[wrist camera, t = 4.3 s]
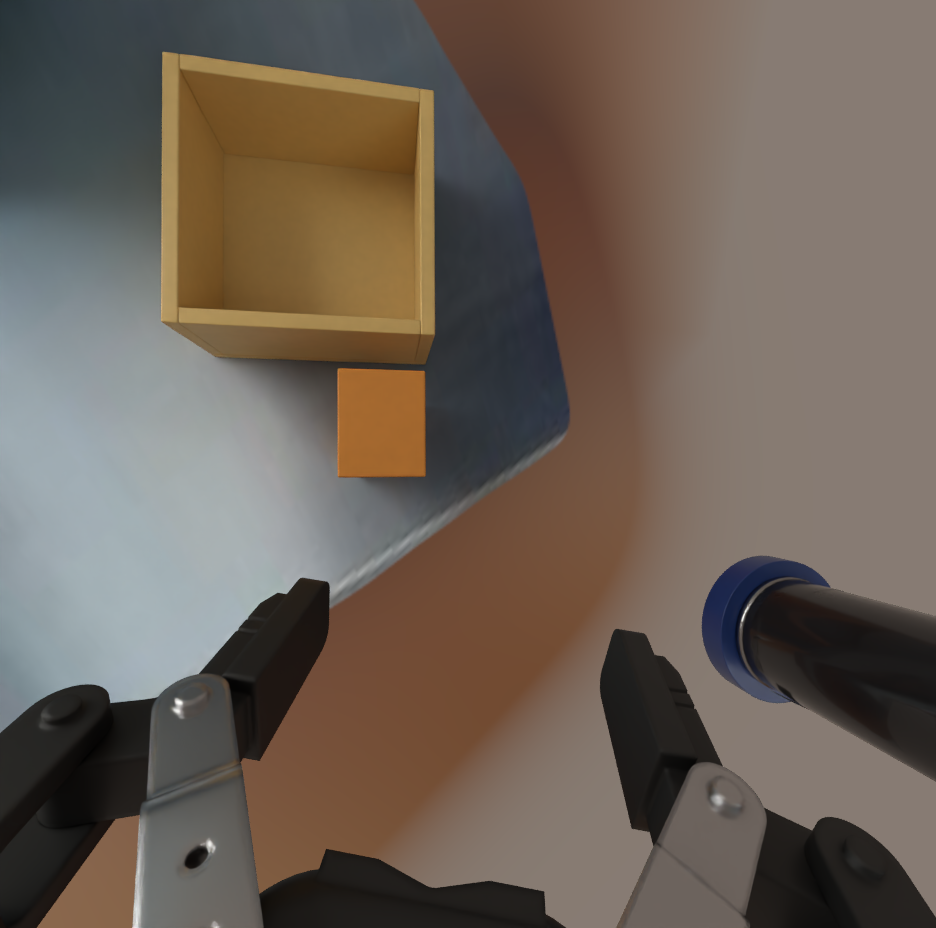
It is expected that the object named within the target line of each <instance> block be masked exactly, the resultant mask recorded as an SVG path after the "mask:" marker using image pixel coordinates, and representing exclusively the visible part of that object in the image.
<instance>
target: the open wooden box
mask: <svg viewBox="0 0 936 928" xmlns="http://www.w3.org/2000/svg"><path fill="white" fill-rule="evenodd" d="M161 321H162V322H163V323H164V324H166V325H167V326H169V327H170V328H172V329H173V330H175V331H176V332H178V333H179V334H181V335H183V336H184V337H186V338H187V339H189V340H190V341H192V342H193V343H195V344H196V345H198V346H199V347H201V348H203V349H204V350H206V351H207V352H209V353H210V354H212V355H213V356H215V357H229V358H257V359H284V360H312V361H340V362H367V363H395V364H422V365H425V364H426V361H427V358H428V355H429V352H430V349H431V345H432V342H433V339H434V336H435V207H434V91H432V90H425V89H420V90H419V89H418V88H412V87H405V86H398V85H391V84H385V83H378V82H371V81H364V80H357V79H350V78H343V77H337V76H330V75H323V74H316V73H309V72H302V71H295V70H289V69H282V68H275V67H268V66H261V65H254V64H247V63H240V62H234V61H227V60H220V59H213V58H206V57H199V56H192V55H186V54H180V55H179V54H176V53H169V52H163V53H162V257H161Z"/></svg>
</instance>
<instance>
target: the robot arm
mask: <svg viewBox="0 0 936 928" xmlns="http://www.w3.org/2000/svg"><path fill="white" fill-rule="evenodd" d="M329 594H330V587H329V583H328V582H325V581H319V580H313V579H307V578H300V579H299V580H298V581H297V582H296V584H295V585H294V586H293V587H292V589H291V590H290V591H289V592H288V594H282V593H277V594H275V595H273V596H272V597H270V598H268V599H267V600H265V601H263V602H262V603H260V604H259V605H258V607H257V608H256V609H255V610H254V611H253V612H252V613H251V615H250V616H249V617H248V620H245V621H244V623H243V624H242V625H241V626H240V627H239V629H238V631H236V632H235V633H234V634H233V635H232V636H231V638H230V639H229V640H228V641H227V642H226V643H225V644H224V646H223V647H222V648H221V649H220V650H219V651H218V653H217V654H216V655H215V656H214V657H213V658H212V659H211V661H210V662H209V663H208V664H207V665H206V666H205V667H204V669H203V670H202V671H201V672H200V673H199V674H197V675H192V676H189V677H186V678H184V679H181V680H179V681H177V682H175V683H174V684H172V685H171V686H169V687H168V688H167V689H165V690H164V691H163V692H162V693H161V694H160V695H159V696H158V697H157V698H152V699H146V700H136V701H127V702H117V703H110V699H109V694H108V692H107V691H106V690H105V689H104V688H102V687H100V686H97V685H88V684H87V685H78V686H72V687H69V688H65V689H62V690H60V691H57V692H55V693H52V694H50V695H48V696H46V697H45V698H43V699H41V700H40V701H38V702H37V703H35V704H34V705H32V706H31V707H30V708H29V709H27V710H26V711H25V712H24V713H23V714H22V715H20V716H19V717H18V718H17V719H16V720H15V721H14V722H12V723H11V724H10V725H9V726H8V727H7V728H6V729H4V730H3V731H2V732H1V733H0V928H37V926H38V925H39V924H40V922H41V921H42V919H43V918H44V917H45V915H46V914H47V913H48V911H49V910H50V909H51V907H52V906H53V904H54V903H55V902H56V900H57V899H58V897H59V896H60V894H61V893H62V892H63V891H64V889H65V888H66V886H67V885H68V883H69V882H70V881H71V879H72V878H73V877H74V875H75V874H76V873H77V871H78V870H79V868H80V867H81V866H82V864H83V863H84V861H85V860H86V859H87V857H88V856H89V855H90V853H91V852H92V850H93V849H94V848H95V846H96V845H97V843H98V842H99V841H100V839H101V838H102V837H103V835H104V834H105V833H106V831H107V830H108V828H109V827H110V826H111V824H112V823H113V821H114V820H115V819H118V818H124V817H130V816H136V815H140V821H139V836H138V837H139V838H138V852H137V868H136V884H135V899H134V916H133V928H566V927H564V926H563V925H561V924H560V923H559V922H557V921H556V920H555V919H553V918H551V917H550V916H548V915H546V914H545V898H544V897H545V896H544V891H539V890H534V889H529V888H523V887H518V886H513V885H508V884H503V883H498V882H493V881H485V882H478V883H470V884H463V885H456V886H448V887H440V888H431V887H428V886H426V885H424V884H422V883H420V882H418V881H417V880H415V879H413V878H411V877H410V876H408V875H406V874H404V873H402V872H401V871H399V870H397V869H395V868H394V867H392V866H390V865H388V864H386V863H385V862H383V861H381V860H379V859H375V858H370V857H365V856H359V855H355V854H350V853H344V852H339V851H334V850H329V849H326V851H325V854H324V857H323V859H322V863H321V865H320V868H319V869H318V870H310V871H307V872H304V873H300V874H296V875H294V876H291V877H289V878H287V879H284V880H282V881H280V882H278V883H277V884H275V885H273V886H271V887H269V888H268V889H266V890H265V891H263V892H262V893H260V894H259V889H258V883H257V875H256V867H255V860H254V853H253V845H252V838H251V830H250V824H249V816H248V808H247V801H246V794H245V786H244V779H243V772H242V766H241V763H240V762H241V761H242V759H243V758H247V759H252V760H258V761H260V759H261V757H262V756H263V754H264V752H265V750H266V749H267V747H268V745H269V743H270V741H271V740H272V738H273V736H274V734H275V733H276V731H277V729H278V727H279V725H280V724H281V722H282V720H283V718H284V717H285V715H286V713H287V711H288V710H289V708H290V706H291V704H292V703H293V701H294V699H295V697H296V695H297V694H298V692H299V690H300V688H301V686H302V685H303V683H304V681H305V679H306V677H307V676H308V674H309V672H310V671H311V669H312V667H313V665H314V664H315V662H316V660H317V658H318V656H319V655H320V652H321V651H322V649H323V647H324V644H325V642H326V638H327V634H328V628H329ZM735 641H736V648H737V652H738V655H739V658H740V660H741V663H742V664H743V666H744V668H745V669H746V671H747V672H748V673H749V674H750V675H751V676H752V677H753V678H754V679H755V680H757V681H758V682H760V683H761V684H763V685H765V686H767V687H768V688H771V689H773V690H776V691H778V692H780V693H781V694H783V695H785V696H787V697H788V698H790V699H792V700H790V699H788V698H786V697H784V696H782V695H780V694H778V693H776V692H774V693H776V694H778V695H780V696H781V697H783V698H785V699H787V700H789V701H791V702H794V703H796V704H798V705H800V706H802V707H804V708H806V709H808V710H811V711H812V712H814V713H816V714H818V715H820V716H821V717H823V718H825V719H827V720H828V721H830V722H832V723H834V724H835V725H837V726H839V727H841V728H842V729H844V730H846V731H848V732H850V733H851V734H853V735H855V736H856V737H858V738H860V739H862V740H863V741H865V742H867V743H869V744H871V745H872V746H874V747H876V748H878V749H879V750H881V751H883V752H885V753H887V754H888V755H890V756H892V757H893V758H895V759H897V760H899V761H901V762H902V763H904V764H906V765H908V766H910V767H911V768H913V769H915V770H916V771H918V772H920V773H922V774H923V775H925V776H927V777H929V778H930V779H932V780H934V781H936V616H933V615H929V614H925V613H922V612H918V611H914V610H910V609H907V608H903V607H899V606H896V605H892V604H888V603H884V602H881V601H877V600H873V599H869V598H866V597H862V596H858V595H854V594H851V593H847V592H844V591H840V590H836V589H833V588H829V587H825V586H821V585H818V584H814V583H811V582H809V581H806V580H804V579H800V578H796V577H791V576H780V577H775V578H772V579H769V580H767V581H765V582H763V583H761V584H760V585H759V586H757V587H756V588H755V589H754V590H753V591H752V592H751V593H750V594H749V596H748V597H747V598H746V600H745V601H744V603H743V605H742V607H741V609H740V612H739V614H738V618H737V622H736V629H735ZM600 693H601V699H602V704H603V707H604V712H605V716H606V720H607V725H608V729H609V733H610V738H611V742H612V746H613V750H614V755H615V759H616V763H617V767H618V772H619V776H620V780H621V784H622V789H623V793H624V797H625V801H626V806H627V810H628V815H629V819H630V823H631V827H632V829H637V830H642V831H647V832H650V835H651V838H652V842H653V846H654V847H653V849H652V851H651V853H650V856H649V858H648V860H647V862H646V865H645V866H644V869H643V871H642V873H641V875H640V877H639V880H638V882H637V884H636V886H635V888H634V891H633V893H632V895H631V897H630V899H629V901H628V904H627V906H626V908H625V910H624V912H623V914H622V917H621V919H620V921H619V923H618V925H617V928H936V917H935V916H934V914H933V913H932V911H931V910H930V908H929V907H928V905H927V904H926V902H925V901H924V899H923V898H922V896H921V894H920V893H919V892H918V890H917V888H916V887H915V886H914V884H913V882H912V881H911V879H910V878H909V876H908V875H907V873H906V872H905V870H904V869H903V868H902V866H901V865H900V864H899V862H898V861H897V860H896V859H895V857H894V856H893V855H892V854H891V853H890V852H889V851H888V850H887V849H886V848H885V847H884V846H883V845H882V844H881V843H880V842H879V841H877V840H876V839H875V838H873V837H872V836H871V835H870V834H868V833H867V832H865V831H864V830H862V829H861V828H859V827H857V826H856V825H853V824H852V823H850V822H847V821H845V820H842V819H839V818H834V817H825V818H822V819H820V820H819V821H818V822H817V824H816V825H815V827H814V829H813V830H810V829H807V828H805V827H803V826H801V825H799V824H797V823H794V822H793V821H790V820H788V819H786V818H784V817H782V816H780V815H778V814H776V813H773V812H771V811H769V810H768V809H766V808H764V807H763V805H762V803H761V801H760V799H759V798H758V796H757V795H756V793H755V792H754V791H753V790H752V788H751V787H750V786H749V785H748V784H747V783H746V782H745V781H744V780H743V779H741V778H740V777H739V776H738V775H736V774H735V773H733V772H732V771H730V770H728V769H727V768H725V767H723V766H722V764H721V762H720V759H719V757H718V755H717V753H716V751H715V749H714V746H713V744H712V742H711V740H710V738H709V736H708V734H707V732H706V730H705V727H704V725H703V723H702V721H701V719H700V717H699V714H698V712H697V710H696V709H694V704H693V702H692V700H691V698H690V695H689V694H687V689H686V687H685V685H684V682H683V680H682V678H681V676H680V674H679V672H678V671H677V670H676V669H675V668H674V667H673V666H672V665H671V664H670V662H669V661H667V659H666V658H665V657H663V656H657V655H654V653H653V650H652V648H651V645H650V643H649V641H648V638H647V636H646V635H645V634H644V633H639V632H632V631H626V630H620V629H615V630H614V632H613V635H612V637H611V641H610V644H609V648H608V651H607V655H606V658H605V662H604V665H603V668H602V672H601V678H600ZM793 700H794V701H793Z"/></svg>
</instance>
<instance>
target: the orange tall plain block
mask: <svg viewBox="0 0 936 928" xmlns="http://www.w3.org/2000/svg"><path fill="white" fill-rule="evenodd" d="M425 476H426V421H425V371H410V370H380V369H350V368H338V477H425Z"/></svg>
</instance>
